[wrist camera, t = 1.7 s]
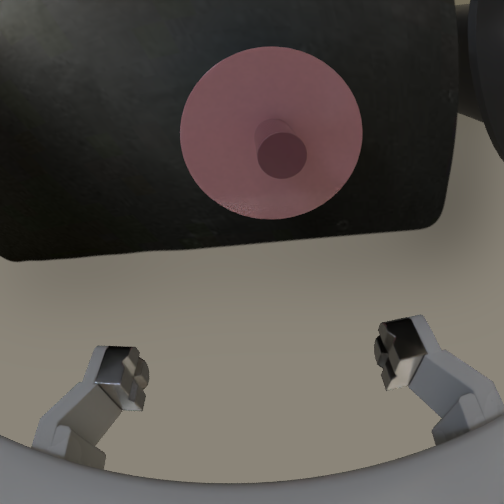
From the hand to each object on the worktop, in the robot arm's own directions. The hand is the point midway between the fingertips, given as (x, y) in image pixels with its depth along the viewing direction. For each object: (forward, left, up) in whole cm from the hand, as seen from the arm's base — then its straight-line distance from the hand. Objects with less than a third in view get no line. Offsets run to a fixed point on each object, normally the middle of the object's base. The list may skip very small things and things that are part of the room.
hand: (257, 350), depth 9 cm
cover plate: (-3, -3, -16) cm, 16 cm away
